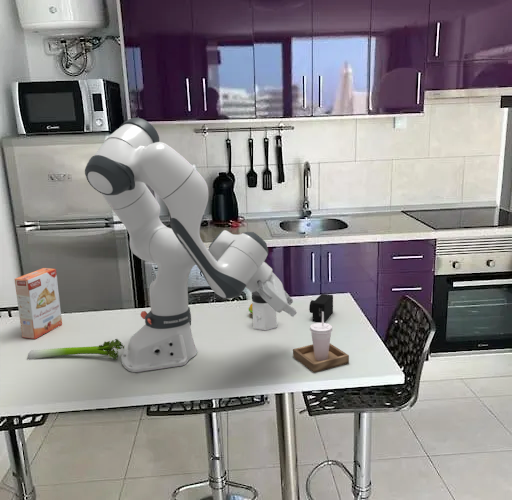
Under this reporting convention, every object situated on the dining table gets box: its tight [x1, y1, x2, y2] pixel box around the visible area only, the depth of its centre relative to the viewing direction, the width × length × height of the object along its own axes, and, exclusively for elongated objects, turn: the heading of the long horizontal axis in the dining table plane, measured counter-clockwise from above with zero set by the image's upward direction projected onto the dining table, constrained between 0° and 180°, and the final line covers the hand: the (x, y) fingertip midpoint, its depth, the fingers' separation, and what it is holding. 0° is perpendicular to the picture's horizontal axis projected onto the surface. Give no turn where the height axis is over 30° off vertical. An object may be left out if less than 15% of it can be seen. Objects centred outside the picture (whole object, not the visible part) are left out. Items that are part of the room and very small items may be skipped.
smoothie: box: [309, 312, 333, 361], centre depth 152 cm, size 6×6×14 cm
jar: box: [251, 291, 277, 331], centre depth 180 cm, size 9×8×12 cm
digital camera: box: [308, 293, 334, 323], centre depth 186 cm, size 10×5×7 cm, turn 155°
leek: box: [27, 338, 125, 360], centre depth 162 cm, size 6×7×30 cm
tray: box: [292, 343, 350, 374], centre depth 154 cm, size 12×12×2 cm
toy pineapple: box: [248, 303, 253, 316], centre depth 191 cm, size 7×10×5 cm
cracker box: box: [14, 267, 63, 340], centre depth 182 cm, size 14×6×21 cm, turn 161°
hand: (293, 308), depth 151 cm, fingers open, 8 cm apart
